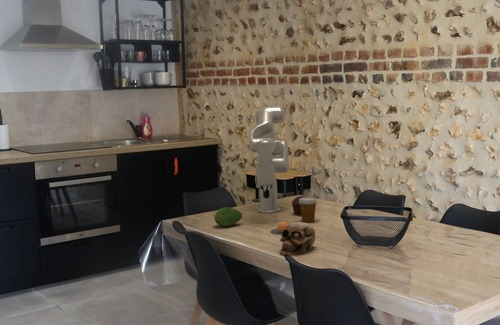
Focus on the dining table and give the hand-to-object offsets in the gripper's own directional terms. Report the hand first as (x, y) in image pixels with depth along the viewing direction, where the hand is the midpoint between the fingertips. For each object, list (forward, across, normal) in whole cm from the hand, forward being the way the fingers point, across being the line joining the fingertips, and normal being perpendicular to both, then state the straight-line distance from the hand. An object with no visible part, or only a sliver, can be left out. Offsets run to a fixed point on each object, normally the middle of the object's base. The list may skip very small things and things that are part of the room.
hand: (266, 197), depth 332 cm
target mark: (+13, 0, +22) cm, 25 cm away
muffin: (+14, -25, -10) cm, 30 cm away
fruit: (+14, +20, -4) cm, 25 cm away
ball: (+10, +1, +24) cm, 26 cm away
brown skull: (+13, +7, +56) cm, 58 cm away
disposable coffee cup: (+14, -21, +6) cm, 26 cm away
